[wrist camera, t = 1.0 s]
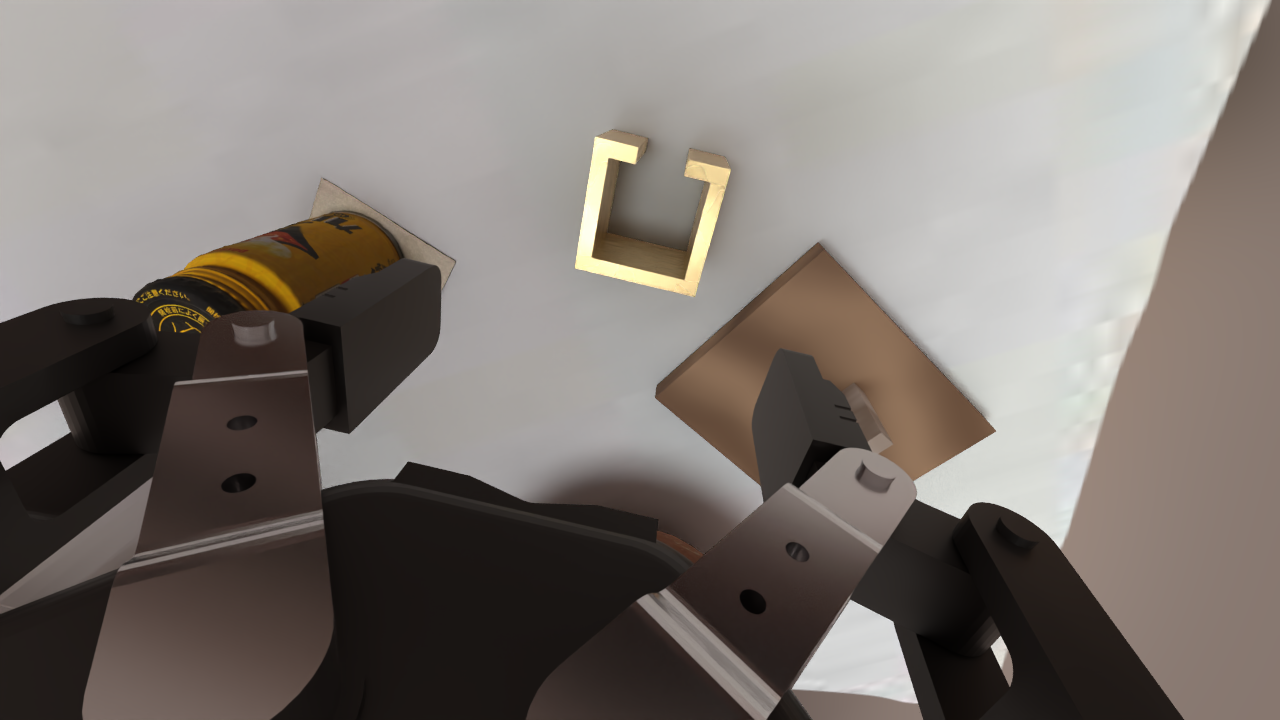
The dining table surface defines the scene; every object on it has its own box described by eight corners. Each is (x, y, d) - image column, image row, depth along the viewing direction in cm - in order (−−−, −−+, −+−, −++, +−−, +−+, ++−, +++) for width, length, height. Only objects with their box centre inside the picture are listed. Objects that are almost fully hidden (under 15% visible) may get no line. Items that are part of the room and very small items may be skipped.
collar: (694, 266, 29) (694, 296, 25) (593, 241, 29) (574, 268, 25) (725, 156, 26) (730, 169, 22) (612, 129, 26) (595, 136, 22)
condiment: (323, 177, 29) (109, 226, 18) (457, 261, 31) (330, 350, 20) (291, 277, 32) (93, 368, 22) (413, 348, 34) (285, 465, 23)
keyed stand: (816, 520, 37) (838, 598, 31) (656, 385, 33) (648, 447, 27) (983, 417, 32) (1046, 488, 26) (818, 242, 28) (849, 281, 22)
